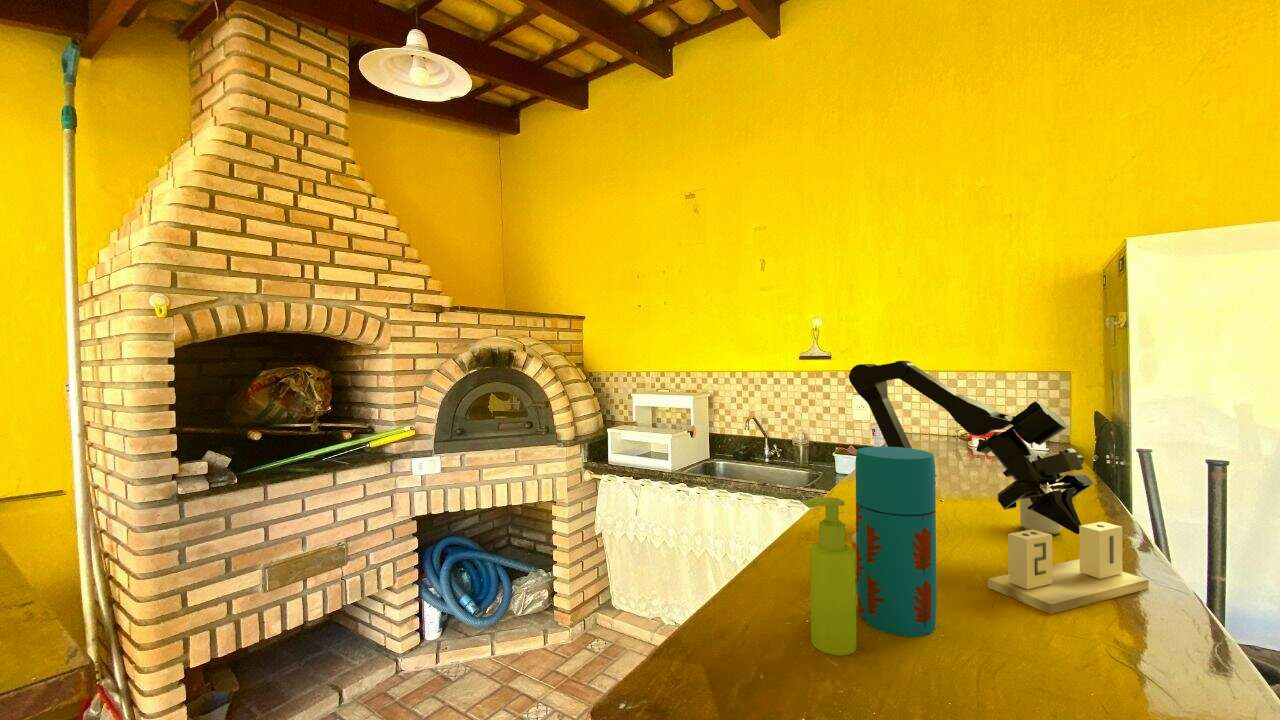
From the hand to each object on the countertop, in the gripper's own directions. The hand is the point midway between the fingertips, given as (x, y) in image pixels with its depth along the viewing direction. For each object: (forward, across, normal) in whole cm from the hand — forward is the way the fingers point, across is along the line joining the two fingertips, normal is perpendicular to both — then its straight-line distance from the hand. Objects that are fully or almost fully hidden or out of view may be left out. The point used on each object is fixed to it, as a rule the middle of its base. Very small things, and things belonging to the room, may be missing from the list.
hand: (1080, 532), depth 94 cm
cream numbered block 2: (+5, -15, +3) cm, 16 cm away
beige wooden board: (+7, -7, +4) cm, 11 cm away
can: (-8, +19, +19) cm, 28 cm away
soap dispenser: (+7, -56, +4) cm, 57 cm away
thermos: (+6, -42, +6) cm, 43 cm away
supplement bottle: (-4, -35, +15) cm, 38 cm away
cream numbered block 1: (+6, 0, +2) cm, 7 cm away
